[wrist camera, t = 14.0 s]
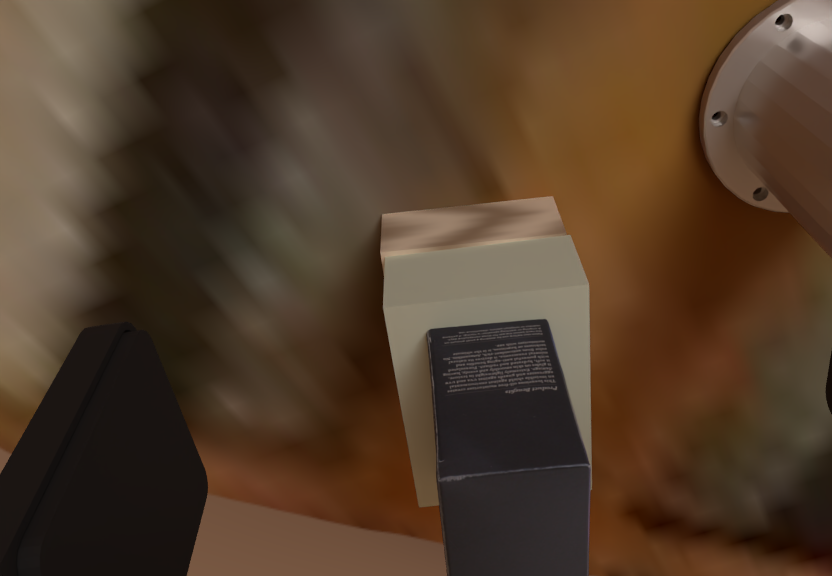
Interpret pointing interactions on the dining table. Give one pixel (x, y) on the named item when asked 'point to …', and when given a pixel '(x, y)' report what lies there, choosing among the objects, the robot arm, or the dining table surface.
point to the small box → (507, 453)
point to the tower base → (469, 226)
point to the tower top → (481, 304)
